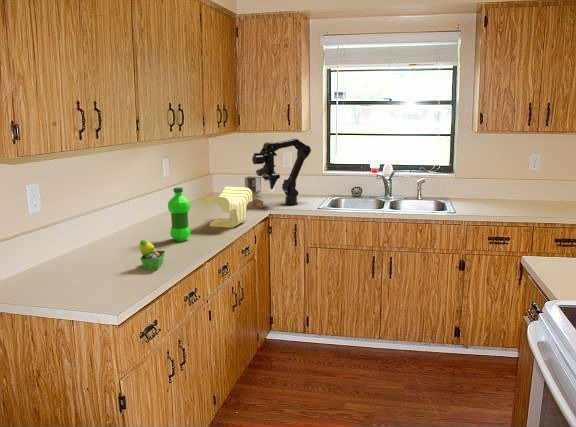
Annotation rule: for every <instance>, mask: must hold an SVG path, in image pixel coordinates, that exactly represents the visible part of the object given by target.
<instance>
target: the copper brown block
mask: <svg viewBox="0 0 576 427" xmlns="http://www.w3.org/2000/svg"><path fill="white" fill-rule="evenodd" d="M262 208H264V201H263V200H262V199H261V200H259V199H252V201H250V202H248V204H247V208H246V210H254V209H262Z"/></svg>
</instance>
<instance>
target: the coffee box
mask: <svg viewBox="0 0 576 427" xmlns="http://www.w3.org/2000/svg"><path fill="white" fill-rule="evenodd" d="M244 188H249V189H250V190H251V192H252V199H259V200H261V201H262V177H261V176H253V175H252V176H250V175H249V176H246V177H244Z"/></svg>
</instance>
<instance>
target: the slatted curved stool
mask: <svg viewBox="0 0 576 427" xmlns="http://www.w3.org/2000/svg"><path fill="white" fill-rule="evenodd" d="M250 201H252V192H251V190H250V189H249V188H245V186H244V187H239V186H237V187H236V186H225V187H224V189H223V190H222V192H221V193H220V194H219V196H211V195H200V202H203V203H207V204H209V205H216V206H217V205H218V207H219V208H220V209H221V212H222V213H223V212H224V213H225V212H227V213H229V217H218V218H217V219H214V220H212V221H211V222H209V227H216V228H230V229H232V228H235V227H236V226H239V225H240V224H242V223H244V222H245V221H246V219H247V204H248V202H250Z"/></svg>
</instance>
